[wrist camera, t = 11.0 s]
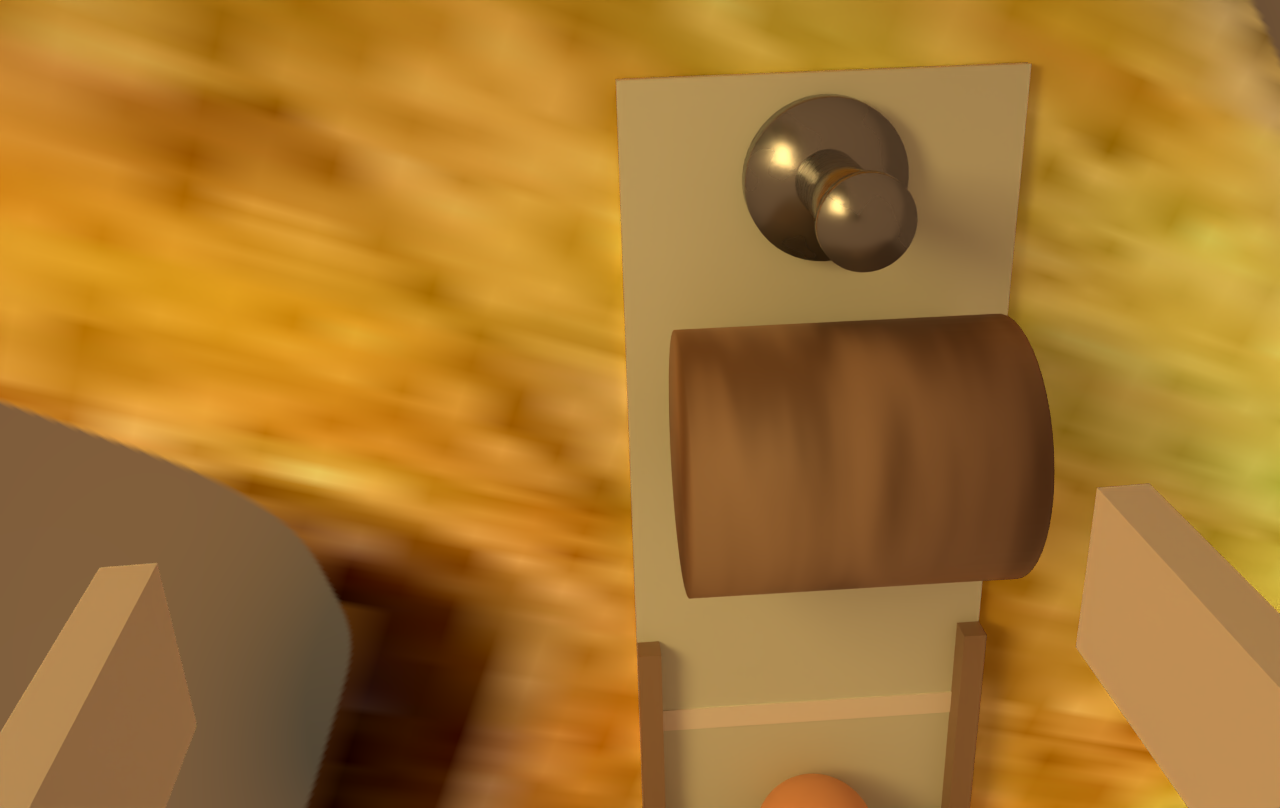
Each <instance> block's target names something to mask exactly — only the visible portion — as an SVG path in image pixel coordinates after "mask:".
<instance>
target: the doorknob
mask: <svg viewBox="0 0 1280 808" xmlns="http://www.w3.org/2000/svg"><path fill="white" fill-rule="evenodd" d="M908 180H909V166H908V158H907V154H906V151H905V147H904V145H903V142H902V140H901V138H900V136H899V134H898V133H897V131H896V129H895V128H894V127H893V125H892V124H891V123H890V122H889V121H888V120H887V119H886V118H885V117H884V116H883V115H882V114H881V113H879V112H878V111H876V110H875V109H873V108H872V107H870V106H869V105H867V104H866V103H864V102H862V101H860V100H858V99H855V98H852V97H849V96H845V95H839V94H817V95H812V96H807V97H803V98H801V99H798V100H796V101H793V102H791V103H789V104H788V105H786V106H784V107H782V108H781V109H780V110H778V111H777V112H775V113H774V114H773V115H772V116H771V117H770V118H769V119H768V120H767V121H766V122H765V123H764V124H763V125H762V126H761V128H760V129H759V130H758V132H757V133H756V135H755V136H754V138H753V140H752V142H751V144H750V146H749V148H748V151H747V154H746V157H745V160H744V165H743V172H742V189H743V195H744V200H745V203H746V206H747V209H748V211H749V213H750V215H751V217H752V219H753V221H754V223H755V224H756V226H757V227H758V229H759V230H760V232H761V233H762V234H763V235H764V236H765V238H766V239H767V240H768V241H769V242H770V243H772V244H773V245H774V246H775V247H777V248H778V249H780V250H781V251H783V252H785V253H787V254H789V255H791V256H794V257H797V258H800V259H804V260H810V261H833V262H834V263H835V264H836V265H838V266H840V267H841V268H844V269H846V270H849V271H853V272H873V271H877V270H880V269H883V268H885V267H887V266H889V265H891V264H892V263H894V262H895V261H897V260H898V259H899V258H900V257H901V256H902V255H903V254H904V253H905V252H906V250H907V249H908V247H909V246H910V244H911V242H912V241H913V238H914V236H915V233H916V229H917V222H918V215H917V208H916V204H915V201H914V199H913V197H912V195H911V194H910V192H909V191H908Z"/></svg>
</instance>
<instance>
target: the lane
mask: <svg viewBox="0 0 1280 808" xmlns="http://www.w3.org/2000/svg"><path fill="white" fill-rule="evenodd" d="M1030 74H1031V64H1030V63H1002V64H977V65H952V66H927V67H902V68H878V69H853V70H828V71H803V72H778V73H753V74H728V75H703V76H678V77H653V78H629V79H616V100H617V127H618V154H619V181H620V207H621V234H622V261H623V288H624V315H625V342H626V369H627V396H628V422H629V449H630V476H631V503H632V530H633V557H634V584H635V611H636V638H637V664H638V691H639V718H640V745H641V772H642V799H643V808H761V806H762V804H763V802H764V800H765V799H766V797H767V796H768V795H769V793H770V792H771V791H772V790H773V789H774V788H775V787H777V786H778V785H779V784H781V783H782V782H784V781H785V780H787V779H790V778H792V777H795V776H798V775H802V774H823V775H828V776H831V777H834V778H836V779H838V780H840V781H842V782H844V783H846V784H847V785H849V786H850V787H851V788H852V789H853V790H855V791H856V792H857V793H858V794H859V796H860V797H861V798H862V799H863V800H864V802H865V803H866V805H867V807H868V808H970V801H971V791H972V781H973V770H974V760H975V750H976V740H977V730H978V720H979V709H980V699H981V689H982V679H983V669H984V659H985V648H986V638H987V635H986V633H985V631H984V629H983V628H982V626H981V624H980V623H979V613H980V602H981V592H982V581H972V582H955V583H939V584H923V585H906V586H890V587H873V588H857V589H841V590H824V591H808V592H791V593H775V594H759V595H742V596H726V597H709V598H693V599H689V598H688V597H687V594H686V591H685V587H684V583H683V578H682V572H681V565H680V558H679V550H678V542H677V533H676V523H675V512H674V500H673V486H672V471H671V453H670V429H669V352H670V341H671V335H672V332H673V330H681V329H701V328H721V327H741V326H761V325H781V324H800V323H820V322H840V321H860V320H880V319H900V318H920V317H940V316H960V315H980V314H1004V315H1007V316H1008V307H1009V296H1010V286H1011V275H1012V264H1013V254H1014V243H1015V233H1016V222H1017V212H1018V201H1019V190H1020V180H1021V169H1022V159H1023V148H1024V138H1025V127H1026V116H1027V106H1028V95H1029V85H1030ZM817 94H839V95H845V96H849V97H852V98H855V99H858V100H860V101H862V102H864V103H866V104H867V105H869V106H870V107H872V108H873V109H875V110H876V111H878V112H879V113H881V114H882V115H883V116H884V117H885V118H886V119H887V120H888V121H889V122H890V123H891V124H892V125H893V127H894V128H895V129H896V131H897V133H898V134H899V136H900V138H901V140H902V142H903V145H904V147H905V151H906V154H907V158H908V166H909V180H908V191H909V192H910V194H911V195H912V197H913V199H914V201H915V204H916V208H917V215H918V222H917V229H916V233H915V236H914V238H913V241H912V242H911V244H910V246H909V247H908V249H907V250H906V252H905V253H904V254H903V255H902V256H901V257H900V258H899V259H898V260H897V261H895V262H894V263H892V264H891V265H889V266H887V267H885V268H883V269H880V270H877V271H873V272H853V271H849V270H846V269H844V268H841V267H840V266H838V265H836V264H835V263H834V262H833V261H810V260H804V259H800V258H797V257H794V256H791V255H789V254H787V253H785V252H783V251H781V250H780V249H778V248H777V247H775V246H774V245H773V244H772V243H770V242H769V241H768V240H767V239H766V238H765V236H764V235H763V234H762V233H761V232H760V230H759V229H758V227H757V226H756V224H755V223H754V221H753V219H752V217H751V215H750V213H749V211H748V209H747V206H746V203H745V200H744V195H743V189H742V172H743V165H744V160H745V157H746V154H747V151H748V148H749V146H750V144H751V142H752V140H753V138H754V136H755V135H756V133H757V132H758V130H759V129H760V128H761V126H762V125H763V124H764V123H765V122H766V121H767V120H768V119H769V118H770V117H771V116H772V115H773V114H774V113H775V112H777V111H778V110H780V109H781V108H782V107H784V106H786V105H788V104H789V103H791V102H793V101H796V100H798V99H801V98H803V97H807V96H812V95H817Z"/></svg>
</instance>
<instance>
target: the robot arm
mask: <svg viewBox="0 0 1280 808" xmlns="http://www.w3.org/2000/svg"><path fill="white" fill-rule="evenodd" d="M1076 648H1077V649H1078V651H1079V652H1080V654H1081V655H1082V657H1083V658H1084V659H1085V661H1086V662H1087V664H1088V665H1089V667H1090V668H1091V669H1092V671H1093V672H1094V674H1095V675H1096V677H1097V678H1098V679H1099V681H1100V682H1101V684H1102V685H1103V687H1104V688H1105V689H1106V691H1107V692H1108V694H1109V695H1110V697H1111V698H1112V699H1113V701H1114V702H1115V704H1116V705H1117V707H1118V708H1119V709H1120V711H1121V712H1122V714H1123V715H1124V717H1125V718H1126V719H1127V721H1128V722H1129V724H1130V725H1131V727H1132V728H1133V730H1134V731H1135V732H1136V734H1137V735H1138V737H1139V738H1140V740H1141V741H1142V742H1143V744H1144V745H1145V747H1146V748H1147V750H1148V751H1149V752H1150V754H1151V755H1152V757H1153V758H1154V760H1155V761H1156V762H1157V764H1158V765H1159V767H1160V768H1161V770H1162V771H1163V772H1164V774H1165V775H1166V777H1167V778H1168V780H1169V781H1170V782H1171V784H1172V785H1173V787H1174V788H1175V790H1176V791H1177V792H1178V794H1179V795H1180V797H1181V798H1182V800H1183V801H1184V802H1185V804H1186V805H1187V807H1188V808H1280V614H1279V613H1278V612H1277V611H1276V610H1275V609H1274V608H1273V607H1272V606H1271V605H1270V604H1269V603H1268V602H1267V601H1266V600H1265V599H1264V598H1263V597H1262V596H1261V595H1260V594H1259V593H1258V592H1257V591H1256V590H1255V589H1254V588H1253V587H1252V586H1251V585H1250V584H1249V583H1248V582H1247V581H1246V580H1245V579H1244V578H1243V577H1242V576H1241V575H1240V574H1239V573H1238V572H1237V571H1236V570H1235V569H1234V568H1233V567H1232V566H1231V565H1230V564H1229V563H1228V562H1227V561H1226V560H1225V559H1224V558H1223V557H1222V556H1221V555H1220V554H1219V553H1218V552H1217V551H1216V550H1215V549H1214V548H1213V547H1212V546H1211V545H1210V544H1209V543H1208V542H1207V541H1206V540H1205V539H1204V538H1203V537H1202V536H1201V535H1200V534H1199V533H1198V532H1197V531H1196V530H1195V529H1194V528H1193V527H1192V526H1191V525H1190V524H1189V523H1188V522H1187V521H1186V520H1185V519H1184V518H1183V517H1182V516H1181V515H1180V514H1179V513H1178V512H1177V511H1176V510H1175V509H1174V508H1173V507H1172V506H1171V505H1170V504H1169V503H1168V502H1167V501H1166V500H1165V499H1164V498H1163V497H1162V496H1161V495H1160V494H1159V493H1158V492H1157V491H1156V490H1155V489H1154V488H1153V487H1152V486H1151V485H1150V484H1137V485H1124V486H1112V487H1099V488H1097V493H1096V500H1095V508H1094V515H1093V523H1092V530H1091V538H1090V545H1089V553H1088V560H1087V567H1086V575H1085V582H1084V590H1083V597H1082V605H1081V612H1080V620H1079V627H1078V635H1077V642H1076ZM196 726H197V723H196V719H195V715H194V711H193V707H192V703H191V698H190V694H189V690H188V687H187V682H186V678H185V674H184V670H183V666H182V662H181V658H180V654H179V650H178V646H177V641H176V637H175V633H174V629H173V625H172V621H171V617H170V613H169V609H168V605H167V600H166V596H165V592H164V588H163V584H162V580H161V576H160V572H159V568H158V564H157V563H150V564H137V565H126V566H112V567H100V568H99V569H98V571H97V573H96V574H95V576H94V578H93V579H92V581H91V583H90V584H89V586H88V588H87V589H86V591H85V593H84V594H83V596H82V598H81V600H80V601H79V603H78V604H77V606H76V608H75V609H74V611H73V612H72V614H71V616H70V618H69V619H68V621H67V623H66V624H65V626H64V628H63V629H62V631H61V632H60V634H59V636H58V637H57V639H56V641H55V642H54V644H53V646H52V647H51V649H50V651H49V652H48V654H47V656H46V657H45V659H44V661H43V662H42V664H41V666H40V667H39V669H38V671H37V672H36V674H35V676H34V677H33V679H32V681H31V682H30V684H29V686H28V687H27V689H26V691H25V692H24V694H23V696H22V697H21V699H20V701H19V702H18V704H17V706H16V707H15V709H14V711H13V712H12V714H11V715H10V717H9V719H8V720H7V722H6V724H5V726H4V727H3V729H2V730H1V732H0V808H166V805H167V802H168V800H169V797H170V794H171V792H172V789H173V786H174V783H175V781H176V779H177V776H178V773H179V771H180V768H181V765H182V763H183V760H184V757H185V755H186V752H187V750H188V747H189V744H190V742H191V739H192V737H193V734H194V731H195V729H196Z"/></svg>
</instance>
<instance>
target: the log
mask: <svg viewBox="0 0 1280 808" xmlns="http://www.w3.org/2000/svg"><path fill="white" fill-rule="evenodd" d="M669 429H670V453H671V471H672V486H673V500H674V512H675V523H676V533H677V542H678V550H679V558H680V565H681V572H682V578H683V583H684V587H685V591H686V594H687V597H688V598H689V599H693V598H709V597H726V596H742V595H759V594H775V593H791V592H808V591H824V590H841V589H857V588H873V587H890V586H906V585H923V584H939V583H955V582H972V581H988V580H1005V579H1018V578H1022V577H1024V576H1026V575H1027V574H1028V573H1029V572H1030V571H1031V570H1032V569H1033V568H1034V566H1035V565H1036V563H1037V562H1038V560H1039V557H1040V555H1041V553H1042V551H1043V548H1044V545H1045V541H1046V538H1047V534H1048V530H1049V525H1050V519H1051V513H1052V505H1053V494H1054V446H1053V433H1052V425H1051V417H1050V410H1049V405H1048V399H1047V394H1046V390H1045V386H1044V382H1043V378H1042V374H1041V371H1040V368H1039V365H1038V362H1037V359H1036V357H1035V354H1034V351H1033V349H1032V347H1031V345H1030V343H1029V341H1028V339H1027V337H1026V335H1025V334H1024V332H1023V331H1022V329H1021V328H1020V327H1019V325H1018V324H1017V323H1016V322H1015V321H1014V320H1013V319H1011V318H1010V317H1009V316H1007V315H1004V314H980V315H960V316H940V317H920V318H900V319H880V320H860V321H840V322H820V323H800V324H781V325H761V326H741V327H721V328H701V329H681V330H673V332H672V335H671V341H670V352H669Z"/></svg>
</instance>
